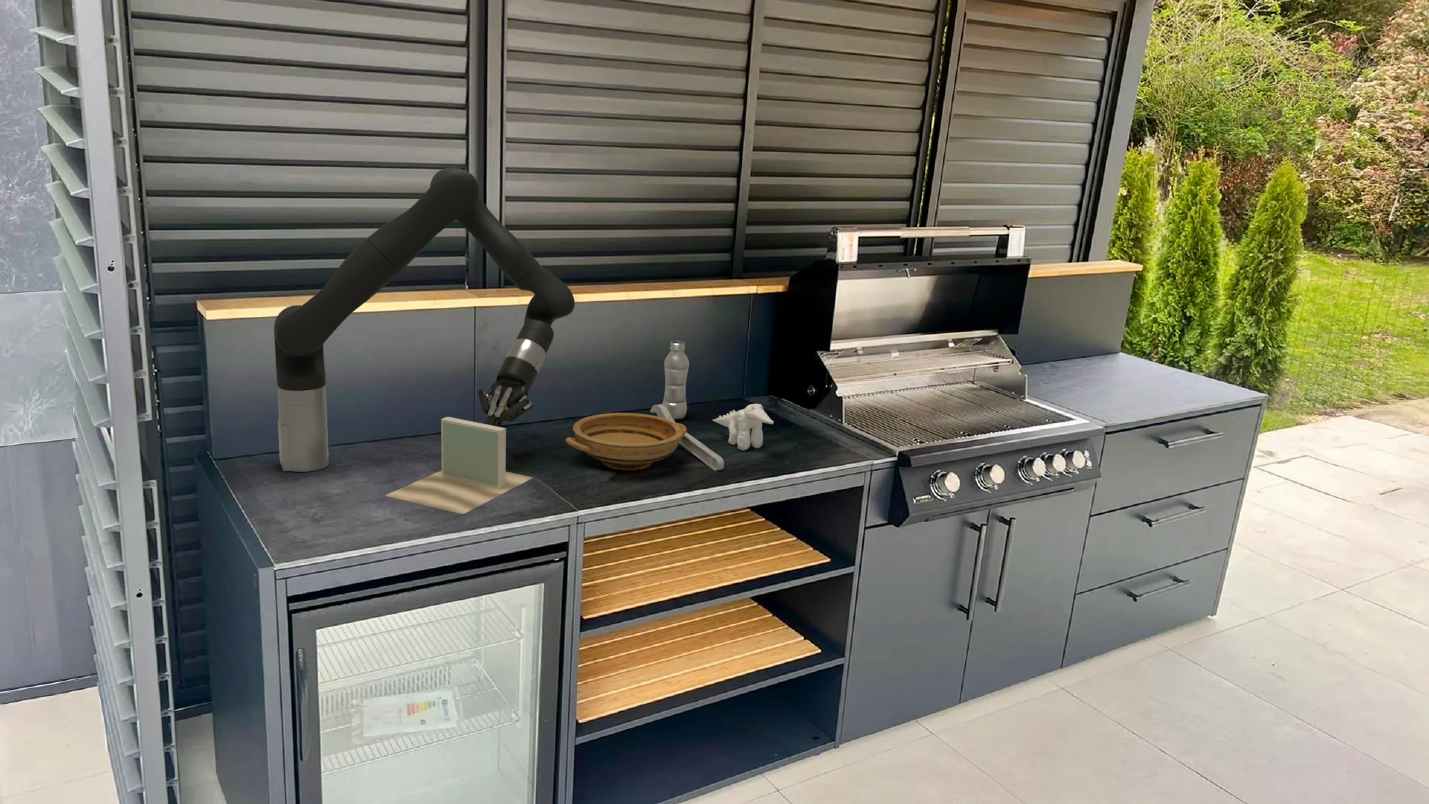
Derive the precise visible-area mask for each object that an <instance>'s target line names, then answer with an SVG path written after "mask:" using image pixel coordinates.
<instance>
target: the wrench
mask: <svg viewBox="0 0 1429 804" xmlns="http://www.w3.org/2000/svg"><path fill="white" fill-rule="evenodd" d="M662 404H663V403H661V404H654V405H653V406H652V407H651V409H649V410H650V413H656V415H657V416H656V417H660V418H664V419H667V420H670V421H672V422H674V423H676V421H675V419H673V418H672V417H671V415H670V413H669V412H668V410H667V408H666V407H665V406H664V405H662ZM679 444H680V445H681V446H682V447H683V448H685V449H686V450H687V451H688V452H690V453H691V454H692V455H693V456H695V457H696V458H698V459H699V460H700V461H701V462H702V463H703V464H705V465H706V466H707V467H709V468H710V469H712V470H714V471H715V472H716V471H722V470H723V469H724V467H725V462H724V461H725V460H724V459H723V457H721V455H719V454H717V453H716V452H715V451H713V450H712V449H710V448H709V447H708V446H707V445H705V444H703V443H702V442H700V440H699V439H698V440H697V439H696V438H695V437H694V436H692V435H691V434H689V433H688V432H686V434H685V435H684V436H683V437H682V438H680V442H679ZM679 444H678V445H679Z"/></svg>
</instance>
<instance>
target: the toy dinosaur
mask: <svg viewBox="0 0 1429 804" xmlns="http://www.w3.org/2000/svg"><path fill="white" fill-rule="evenodd" d="M712 421H713V422H715V423H717V424H719V425H722V426H724V427H726V428H728V431H729V438H728V443H729V444H730V445H732V446H734V445H736V444H737V449H739V450H740V451H746V450H748V449H749V448H750V446H751V448H752V447H753V448H754V449H760V448H761V447H762V446H763V441H764V434H763V430H762V428H763V423H764V424H769V425H773V424H774V420H772V418H770V417H769V415H768V414H767V413H766V411H765V410H764V407H763V405H762V404H759V403H752V404H749V405H747V406H746V407H745V408H743V409H740V410H737V411H736V410H734V409H733V410H731V411H729V413H726V415H725V414H724V415H718V417H717V418H715V419H712Z"/></svg>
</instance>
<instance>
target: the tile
mask: <svg viewBox="0 0 1429 804" xmlns="http://www.w3.org/2000/svg"><path fill="white" fill-rule="evenodd" d="M440 421H441V422H440V423H441V424H440V425H441V427H440V428H441V429H440V430H441V431H440V433H441V435H440V437H441V438H440V439H441V443H440V444H441V470H442V476H446V477H450V478H455V479H459V480H464V481H468V482H473V483H477V484H482V485H486V486H490V487H495V488H499V489H500V488H502V487H504V486H505V472H507V470H506V467H507V466H506V460H507V459H506V457H507V456H506V455H507V454H506V452H507V450H506V447H507V444H506V443H507V439H506V438H507V428H505V427H501V426H500V427H496V426H491V425H486V424H485V423H482V422H475V421H470V420H465V419H460V418H456V417H452V416H446V417H443V418H441V419H440Z"/></svg>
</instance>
